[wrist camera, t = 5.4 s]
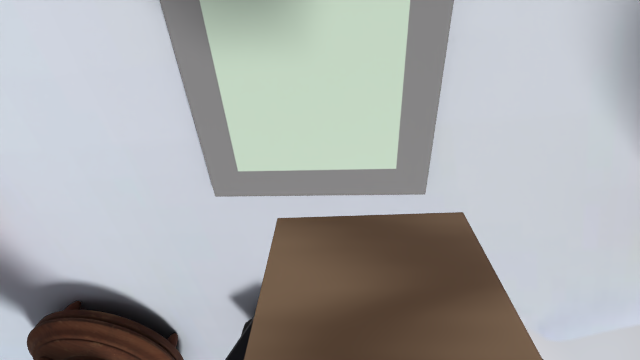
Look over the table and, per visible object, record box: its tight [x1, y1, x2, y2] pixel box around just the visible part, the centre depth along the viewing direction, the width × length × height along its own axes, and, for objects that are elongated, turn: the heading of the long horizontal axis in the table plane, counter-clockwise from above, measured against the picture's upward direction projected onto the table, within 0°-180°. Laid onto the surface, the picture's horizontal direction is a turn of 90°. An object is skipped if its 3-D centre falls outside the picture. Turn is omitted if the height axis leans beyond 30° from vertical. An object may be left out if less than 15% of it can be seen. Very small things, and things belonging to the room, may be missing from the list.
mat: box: [160, 0, 454, 196], centre depth 18 cm, size 14×14×1 cm
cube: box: [244, 212, 542, 360], centre depth 8 cm, size 5×5×5 cm
